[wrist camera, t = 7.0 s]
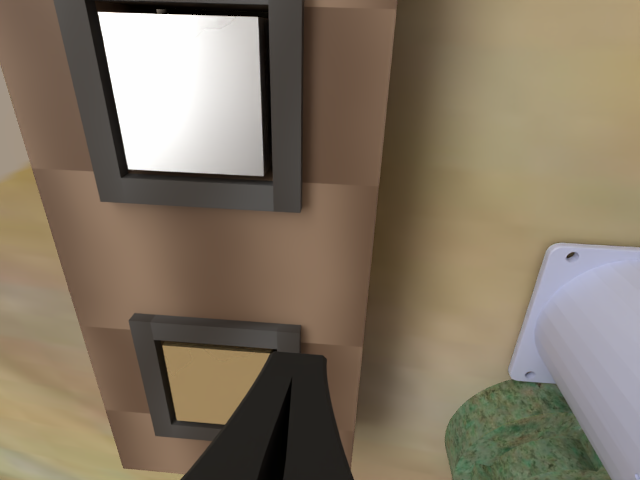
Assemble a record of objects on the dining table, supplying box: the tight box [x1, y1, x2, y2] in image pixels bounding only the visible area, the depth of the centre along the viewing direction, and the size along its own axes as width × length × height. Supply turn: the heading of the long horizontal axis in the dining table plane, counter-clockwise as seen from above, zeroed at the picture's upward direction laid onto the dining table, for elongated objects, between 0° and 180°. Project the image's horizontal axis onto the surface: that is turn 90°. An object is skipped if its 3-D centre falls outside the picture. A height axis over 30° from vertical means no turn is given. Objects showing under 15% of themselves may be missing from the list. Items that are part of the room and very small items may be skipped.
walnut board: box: [0, 0, 398, 474], centre depth 17 cm, size 12×26×4 cm, turn 178°
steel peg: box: [98, 12, 272, 176], centre depth 14 cm, size 4×4×4 cm
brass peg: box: [162, 341, 277, 424], centre depth 19 cm, size 4×4×4 cm
